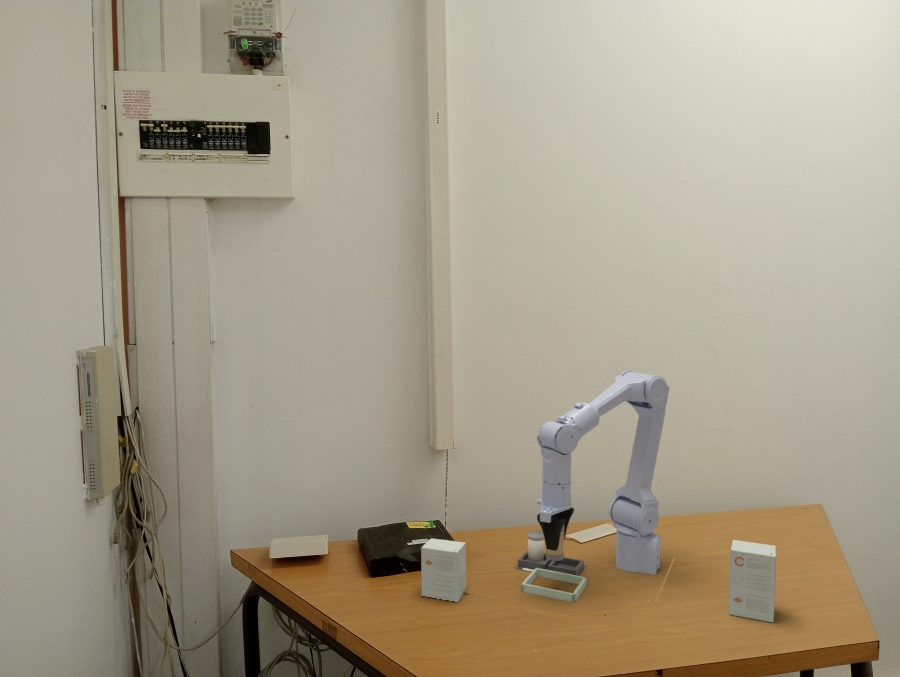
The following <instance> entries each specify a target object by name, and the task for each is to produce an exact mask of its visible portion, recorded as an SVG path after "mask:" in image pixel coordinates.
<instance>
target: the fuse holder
mask: <svg viewBox="0 0 900 677" xmlns="http://www.w3.org/2000/svg"><path fill="white" fill-rule="evenodd" d="M527 559H528V549H527V550H525V552H524V553H523V554H522V555H521V556H520V557H519V558H518V559H517V564H516V566H515V567H514V568H513V569H514V570H519V571H525V572H530V573H532V572H533V570H534V569H535V568H540V569H545V570H550V571H556V572H561V573H566V574H571V575H576V576H581V574H582V573H583V572H584V570H585V569H586V568H587V566H588V565H587V564H585V560H583V559H577V558H571V557H567V556H566V557H565V556H564V559H563V560H560V561H552V560H548V559H547V558H546V552H544V563H538V562H533V561H528V560H527Z"/></svg>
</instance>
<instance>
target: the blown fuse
mask: <svg viewBox="0 0 900 677" xmlns="http://www.w3.org/2000/svg"><path fill="white" fill-rule="evenodd" d="M564 544H565V539H564V524H563V527H562V530H561V534H560V540H559V546H558V549H557V551H554V550H549V549H547V548H546V547H545V554H546V558H547V559H548V560H552V561H560V560H563V559H564V557H565V554H564V552H565V550H564V548H565V546H564Z"/></svg>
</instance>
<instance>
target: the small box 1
mask: <svg viewBox="0 0 900 677" xmlns="http://www.w3.org/2000/svg"><path fill="white" fill-rule="evenodd" d="M420 549H421V550H420V555H421V557H420V559H421V561H420V565H421V571H420V572H421V575H420V576H421V597H422V596H426V597H432V598H437V599H436V600H439V599H442V600H441V601H445V600H449V601H448V602H452V601H454V602H453V603H459V602H460V600H461V599H462V598H463V596H464V595H465V593H466V592H465V590H466V588H467V543H466V542H462V541H454V540H447V539H438V538H433V537H432V538H430V539H429V540H428V541H427V542H425V543H424V544H423V545H422V546H421V548H420ZM426 597H425V598H426ZM432 598H431V599H432Z"/></svg>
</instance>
